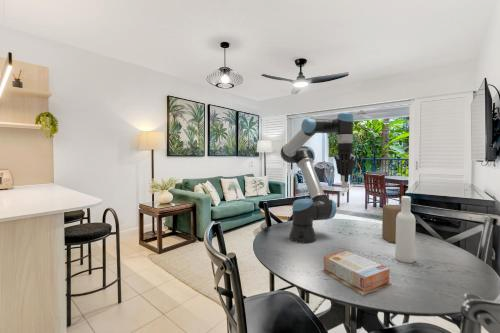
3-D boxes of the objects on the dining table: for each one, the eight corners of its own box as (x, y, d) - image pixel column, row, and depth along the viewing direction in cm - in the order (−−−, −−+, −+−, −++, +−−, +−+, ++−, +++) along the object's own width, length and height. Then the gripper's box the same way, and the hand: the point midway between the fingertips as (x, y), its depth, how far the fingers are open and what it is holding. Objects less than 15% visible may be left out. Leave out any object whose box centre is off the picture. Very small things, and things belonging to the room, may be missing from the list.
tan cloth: (324, 272, 104) (324, 271, 104) (351, 264, 111) (351, 263, 111) (362, 295, 87) (362, 293, 87) (391, 284, 94) (391, 283, 94)
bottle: (391, 257, 118) (392, 196, 117) (402, 254, 121) (403, 194, 120) (407, 264, 111) (409, 198, 109) (418, 261, 114) (420, 197, 112)
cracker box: (323, 269, 106) (365, 293, 87) (323, 255, 105) (365, 276, 87) (346, 262, 112) (390, 283, 93) (346, 249, 112) (390, 267, 93)
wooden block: (398, 237, 147) (399, 204, 146) (407, 243, 137) (408, 208, 136) (381, 237, 148) (382, 204, 147) (389, 243, 138) (389, 207, 137)
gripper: (330, 143, 131) (330, 186, 133) (349, 142, 120) (349, 189, 121) (340, 143, 135) (340, 186, 136) (360, 142, 123) (359, 188, 124)
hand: (344, 187), depth 128 cm, fingers closed
